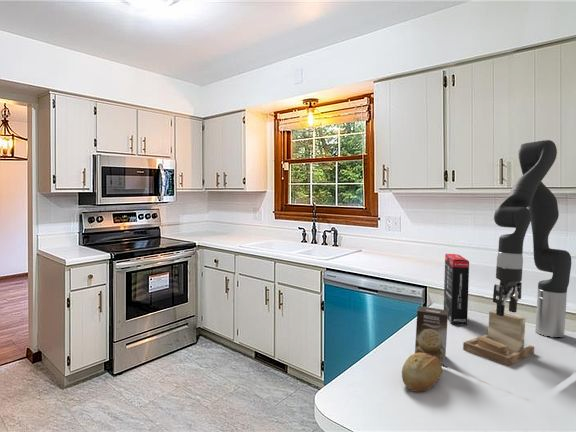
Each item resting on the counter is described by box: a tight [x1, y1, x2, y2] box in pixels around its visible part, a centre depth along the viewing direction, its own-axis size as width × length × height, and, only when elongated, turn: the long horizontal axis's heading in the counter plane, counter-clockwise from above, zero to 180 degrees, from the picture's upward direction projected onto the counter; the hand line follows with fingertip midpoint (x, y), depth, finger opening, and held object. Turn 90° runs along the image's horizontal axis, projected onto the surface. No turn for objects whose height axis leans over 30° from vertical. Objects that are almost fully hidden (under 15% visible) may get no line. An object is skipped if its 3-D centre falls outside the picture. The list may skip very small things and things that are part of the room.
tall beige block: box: [487, 309, 526, 354], centre depth 126 cm, size 4×10×13 cm, turn 35°
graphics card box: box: [443, 253, 470, 326], centre depth 160 cm, size 17×7×27 cm, turn 168°
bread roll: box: [401, 352, 443, 393], centre depth 103 cm, size 10×15×8 cm, turn 143°
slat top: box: [477, 337, 508, 354], centre depth 121 cm, size 4×8×2 cm, turn 25°
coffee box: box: [414, 305, 449, 367], centre depth 118 cm, size 9×6×16 cm
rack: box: [462, 333, 535, 367], centre depth 124 cm, size 17×14×4 cm
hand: (506, 313), depth 126 cm, fingers open, 8 cm apart
